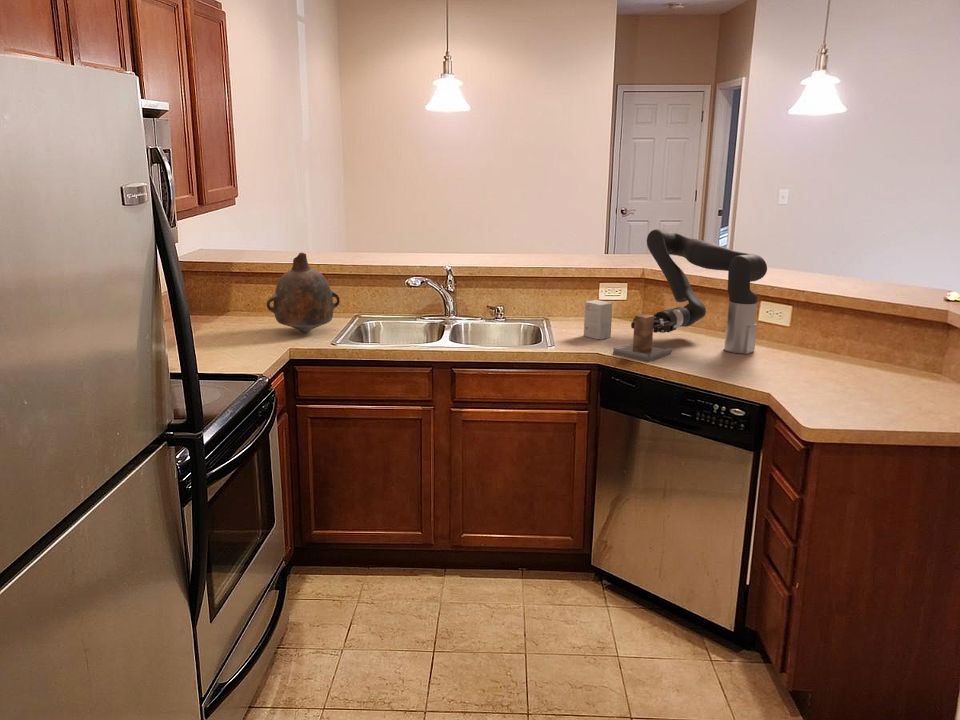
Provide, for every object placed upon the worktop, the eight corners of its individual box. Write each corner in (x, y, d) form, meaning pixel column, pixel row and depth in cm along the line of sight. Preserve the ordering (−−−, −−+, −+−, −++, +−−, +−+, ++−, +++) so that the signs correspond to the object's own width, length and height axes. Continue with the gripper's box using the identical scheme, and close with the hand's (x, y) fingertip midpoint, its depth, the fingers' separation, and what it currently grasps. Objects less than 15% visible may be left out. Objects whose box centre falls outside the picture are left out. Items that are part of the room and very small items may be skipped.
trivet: (670, 353, 268) (671, 348, 267) (648, 361, 258) (649, 355, 257) (635, 346, 277) (636, 340, 277) (613, 353, 267) (613, 347, 267)
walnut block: (651, 350, 267) (654, 315, 264) (644, 352, 264) (646, 317, 261) (640, 347, 270) (642, 313, 267) (632, 350, 267) (634, 315, 264)
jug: (310, 322, 307) (307, 245, 299) (349, 330, 295) (346, 250, 287) (259, 334, 288) (254, 252, 280) (298, 343, 276) (293, 258, 268)
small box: (611, 337, 289) (613, 302, 286) (599, 340, 285) (601, 305, 282) (594, 333, 295) (596, 299, 292) (583, 335, 291) (584, 301, 288)
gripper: (651, 306, 279) (625, 313, 268) (687, 312, 270) (662, 319, 259) (649, 327, 281) (624, 334, 270) (685, 334, 272) (661, 342, 261)
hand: (643, 327), depth 264 cm, fingers open, 8 cm apart
